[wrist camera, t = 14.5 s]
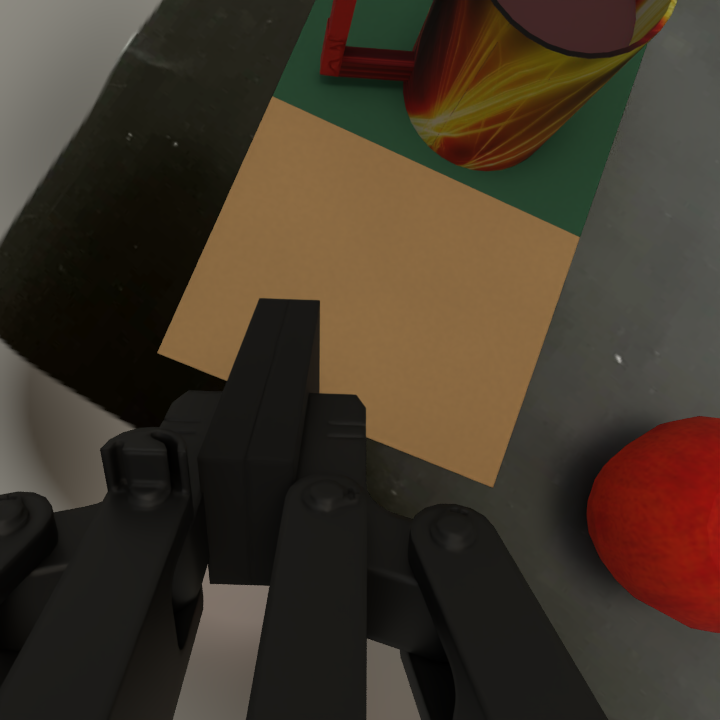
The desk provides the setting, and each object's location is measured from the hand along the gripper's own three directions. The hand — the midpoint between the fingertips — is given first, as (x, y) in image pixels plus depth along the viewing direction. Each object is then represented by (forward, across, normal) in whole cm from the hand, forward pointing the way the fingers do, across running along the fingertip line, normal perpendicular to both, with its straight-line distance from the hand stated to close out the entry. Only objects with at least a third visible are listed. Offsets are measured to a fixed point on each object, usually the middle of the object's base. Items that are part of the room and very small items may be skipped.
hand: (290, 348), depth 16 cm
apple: (+15, +18, -17) cm, 29 cm away
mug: (+27, +7, +3) cm, 28 cm away
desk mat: (+24, +6, 0) cm, 25 cm away
